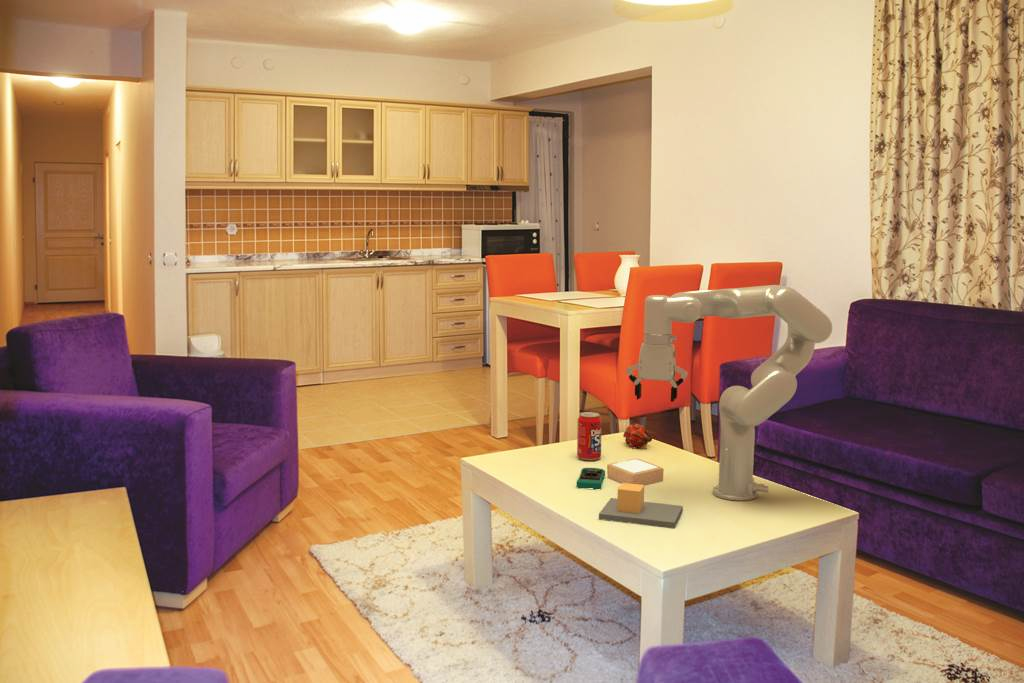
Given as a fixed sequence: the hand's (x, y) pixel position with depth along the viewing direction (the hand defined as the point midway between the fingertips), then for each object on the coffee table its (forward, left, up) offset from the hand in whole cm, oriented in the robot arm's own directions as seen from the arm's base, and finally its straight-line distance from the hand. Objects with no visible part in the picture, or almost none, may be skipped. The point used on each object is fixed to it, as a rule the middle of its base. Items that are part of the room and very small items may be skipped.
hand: (655, 399), depth 256 cm
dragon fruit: (+15, -53, -29) cm, 62 cm away
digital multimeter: (+20, -7, -29) cm, 36 cm away
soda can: (+27, -32, -28) cm, 51 cm away
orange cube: (+3, +17, -27) cm, 32 cm away
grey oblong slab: (0, +17, -28) cm, 33 cm away
